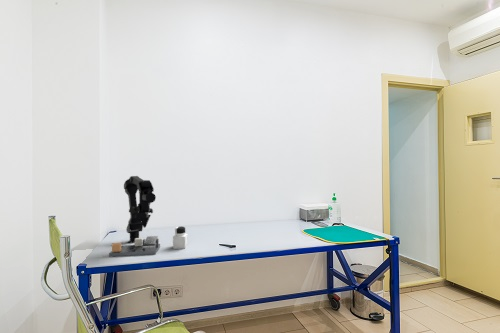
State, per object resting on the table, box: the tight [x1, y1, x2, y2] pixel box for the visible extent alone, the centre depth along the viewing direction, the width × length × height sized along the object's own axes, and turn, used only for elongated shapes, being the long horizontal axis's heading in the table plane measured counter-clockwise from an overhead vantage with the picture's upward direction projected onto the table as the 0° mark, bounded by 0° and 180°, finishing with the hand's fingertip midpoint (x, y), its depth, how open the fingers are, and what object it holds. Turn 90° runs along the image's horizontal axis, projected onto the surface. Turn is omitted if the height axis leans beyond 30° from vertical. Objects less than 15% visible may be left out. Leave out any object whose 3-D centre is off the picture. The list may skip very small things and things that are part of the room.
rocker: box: [143, 235, 159, 248], centre depth 156 cm, size 11×6×1 cm, turn 9°
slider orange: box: [111, 242, 122, 252], centre depth 149 cm, size 3×4×4 cm
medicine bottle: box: [172, 226, 188, 250], centre depth 163 cm, size 7×7×12 cm
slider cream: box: [134, 237, 144, 246], centre depth 159 cm, size 3×4×4 cm
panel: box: [108, 238, 161, 258], centre depth 155 cm, size 14×24×7 cm, turn 99°
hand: (144, 227), depth 163 cm, fingers closed
